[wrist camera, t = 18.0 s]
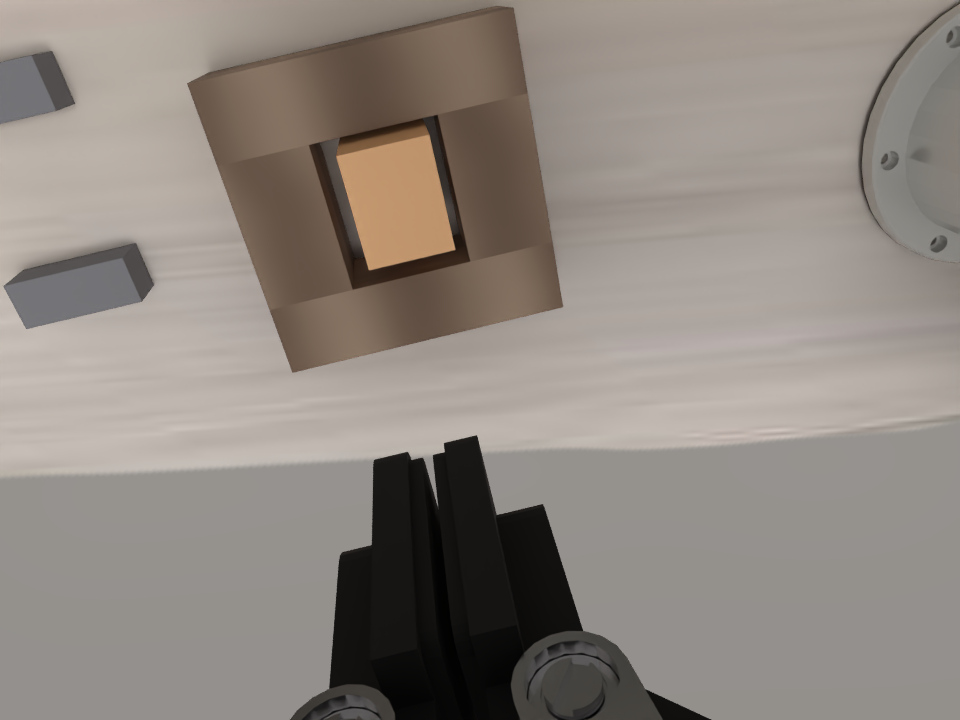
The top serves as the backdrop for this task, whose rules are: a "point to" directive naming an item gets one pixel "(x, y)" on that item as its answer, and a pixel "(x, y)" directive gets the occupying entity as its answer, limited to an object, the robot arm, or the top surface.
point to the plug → (395, 193)
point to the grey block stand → (79, 280)
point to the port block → (313, 204)
